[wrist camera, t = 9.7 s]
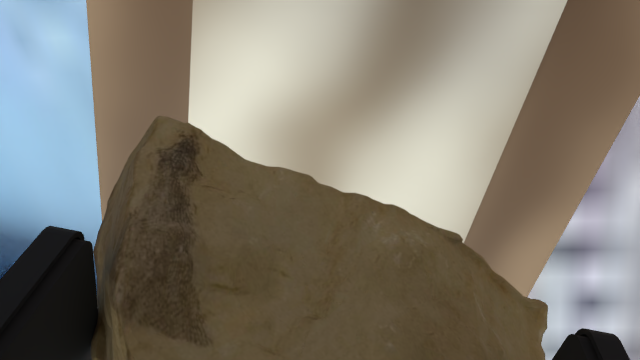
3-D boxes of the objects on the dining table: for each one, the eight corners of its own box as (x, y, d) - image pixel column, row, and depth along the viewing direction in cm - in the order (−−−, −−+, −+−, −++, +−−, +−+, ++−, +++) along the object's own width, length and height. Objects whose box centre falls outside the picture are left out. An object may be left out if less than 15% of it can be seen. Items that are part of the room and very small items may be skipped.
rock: (-57, 227, 11) (184, 519, 14) (-370, 502, 3) (303, 1002, 7) (340, 11, 14) (464, 290, 18) (644, -99, 7) (765, 437, 10)
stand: (681, -125, 17) (764, -119, 13) (487, 277, 26) (504, 342, 23) (131, -242, 16) (63, -267, 13) (140, 209, 26) (103, 265, 23)
